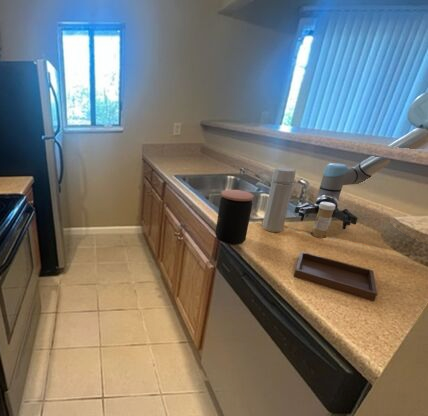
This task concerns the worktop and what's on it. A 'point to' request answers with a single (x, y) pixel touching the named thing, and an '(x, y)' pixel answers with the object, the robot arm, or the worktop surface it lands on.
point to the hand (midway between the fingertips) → (322, 221)
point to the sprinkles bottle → (323, 219)
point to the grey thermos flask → (278, 199)
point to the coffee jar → (233, 216)
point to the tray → (337, 275)
